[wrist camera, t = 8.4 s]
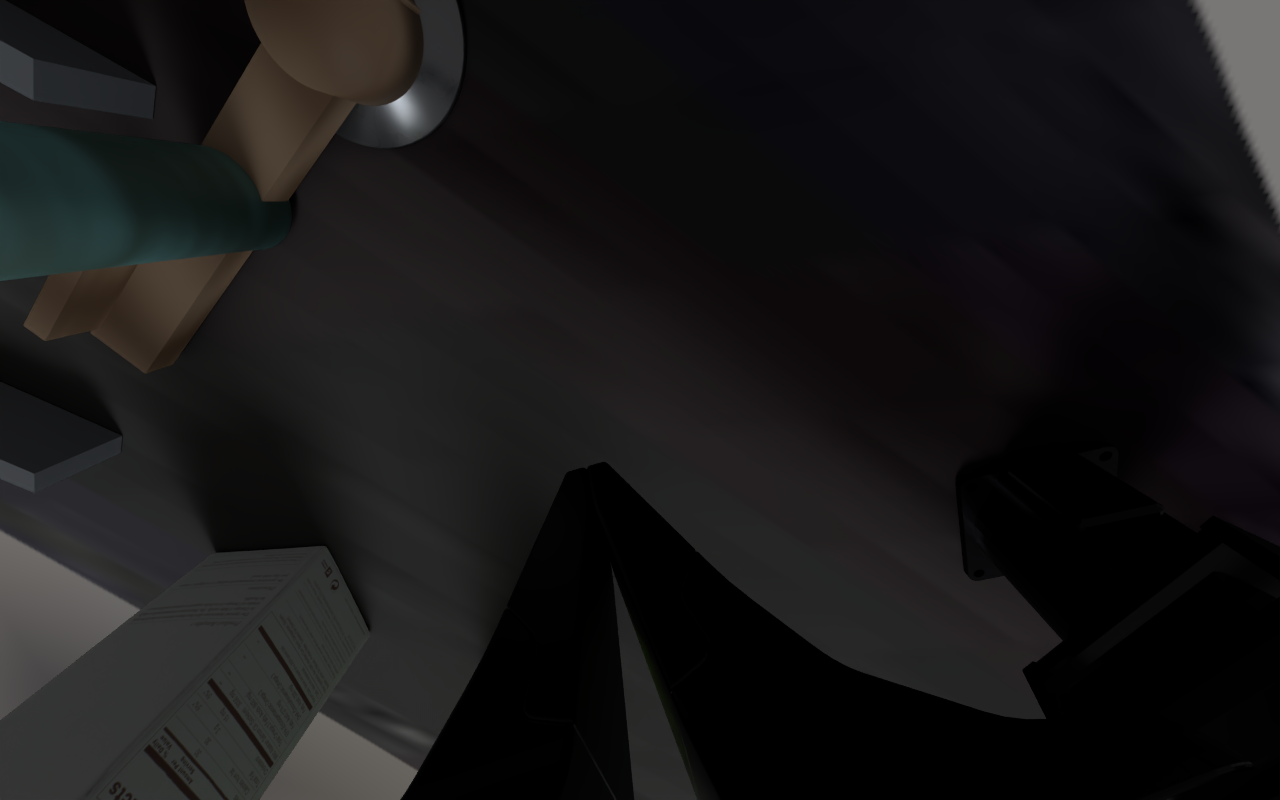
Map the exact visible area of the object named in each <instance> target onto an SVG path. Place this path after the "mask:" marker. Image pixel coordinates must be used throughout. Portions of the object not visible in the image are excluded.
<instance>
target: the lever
mask: <svg viewBox="0 0 1280 800" xmlns="http://www.w3.org/2000/svg"><path fill="white" fill-rule="evenodd" d="M244 2H245V5H246V9H247V12H248V15H249V18H250V20H251V23H252V26H253V28H254V30H255V32H256V34H257V36H258V38H259V39H260V41H261V44H260V46H259V47H258V49H257V51H256V52H255V54H254V56H253V57H252V59H251V61H250V63H249V64H248V66H247V68H246V69H245V71H244V73H243V74H242V76H241V78H240V80H239V81H238V83H237V85H236V86H235V88H234V90H233V91H232V93H231V95H230V96H229V98H228V100H227V102H226V103H225V105H224V107H223V108H222V110H221V112H220V113H219V115H218V117H217V119H216V120H215V122H214V124H213V125H212V127H211V129H210V130H209V132H208V134H207V136H206V137H205V139H204V141H203V142H202V144H201V145H196V144H188V143H180V142H171V141H163V140H154V139H146V138H138V137H129V136H121V135H113V134H104V133H96V132H88V131H79V130H71V129H62V128H54V127H46V126H37V125H29V124H21V123H12V122H4V121H0V281H3V280H11V279H20V278H28V277H36V276H45V275H49V276H48V278H47V280H46V282H45V284H44V286H43V288H42V290H41V292H40V294H39V296H38V298H37V300H36V302H35V304H34V306H33V308H32V310H31V311H30V313H29V315H28V317H27V319H26V321H25V323H24V325H23V326H25V327H26V328H27V329H29V330H30V331H32V332H33V333H34V334H36V335H37V336H38V337H40V338H41V339H43V340H44V341H48V340H53V339H57V338H61V337H66V336H70V335H75V334H79V333H83V332H88V331H91V334H92V335H94V336H95V337H96V338H98V339H99V340H100V341H102V342H103V343H105V344H106V345H107V346H109V347H110V348H111V349H113V350H114V351H115V352H117V353H118V354H119V355H121V356H122V357H123V358H125V359H126V360H127V361H129V362H130V363H131V364H133V365H134V366H135V367H137V368H138V369H139V370H141V371H142V372H144V373H145V374H146V373H149V372H152V371H155V370H158V369H161V368H164V367H167V366H170V365H173V364H174V362H175V361H176V360H177V358H178V357H179V355H180V354H181V352H182V351H183V350H184V348H185V347H186V345H187V344H188V342H189V341H190V340H191V338H192V337H193V335H194V334H195V333H196V331H197V330H198V328H199V327H200V325H201V324H202V323H203V321H204V320H205V318H206V317H207V315H208V314H209V313H210V311H211V310H212V308H213V307H214V305H215V304H216V303H217V301H218V300H219V298H220V297H221V295H222V294H223V293H224V291H225V290H226V288H227V287H228V285H229V284H230V283H231V281H232V280H233V278H234V277H235V275H236V274H237V273H238V271H239V270H240V268H241V267H242V266H243V264H244V263H245V261H246V260H247V258H248V257H249V256H250V254H251V253H252V251H253V250H261V249H268V248H272V247H274V246H276V245H278V244H280V243H281V242H282V241H283V240H284V239H285V238H286V236H287V234H288V232H289V230H290V227H291V221H292V212H291V205H290V201H289V198H290V197H291V196H292V194H293V193H294V191H295V190H296V189H297V187H298V186H299V184H300V183H301V181H302V180H303V179H304V177H305V176H306V174H307V173H308V171H309V170H310V169H311V167H312V166H313V164H314V163H315V161H316V160H317V159H318V157H319V156H320V154H321V153H322V151H323V150H324V149H325V147H326V146H327V144H328V143H329V141H330V140H331V139H332V137H333V136H334V134H335V133H336V131H337V130H338V129H339V127H340V126H341V124H342V123H343V122H344V120H345V119H346V117H347V116H348V114H349V113H350V112H351V110H352V109H353V107H354V106H355V104H356V103H358V104H361V105H367V106H381V105H386V104H389V103H392V102H394V101H396V100H398V99H399V98H401V97H402V96H403V95H404V94H406V92H407V91H408V90H409V89H410V88H411V87H412V85H413V83H414V82H415V80H416V78H417V76H418V73H419V71H420V67H421V64H422V58H423V48H424V40H423V29H422V23H421V19H420V15H419V13H420V12H421V10H420V9H419V8H418V6H417V5H416V3H415V1H414V0H244Z"/></svg>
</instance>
